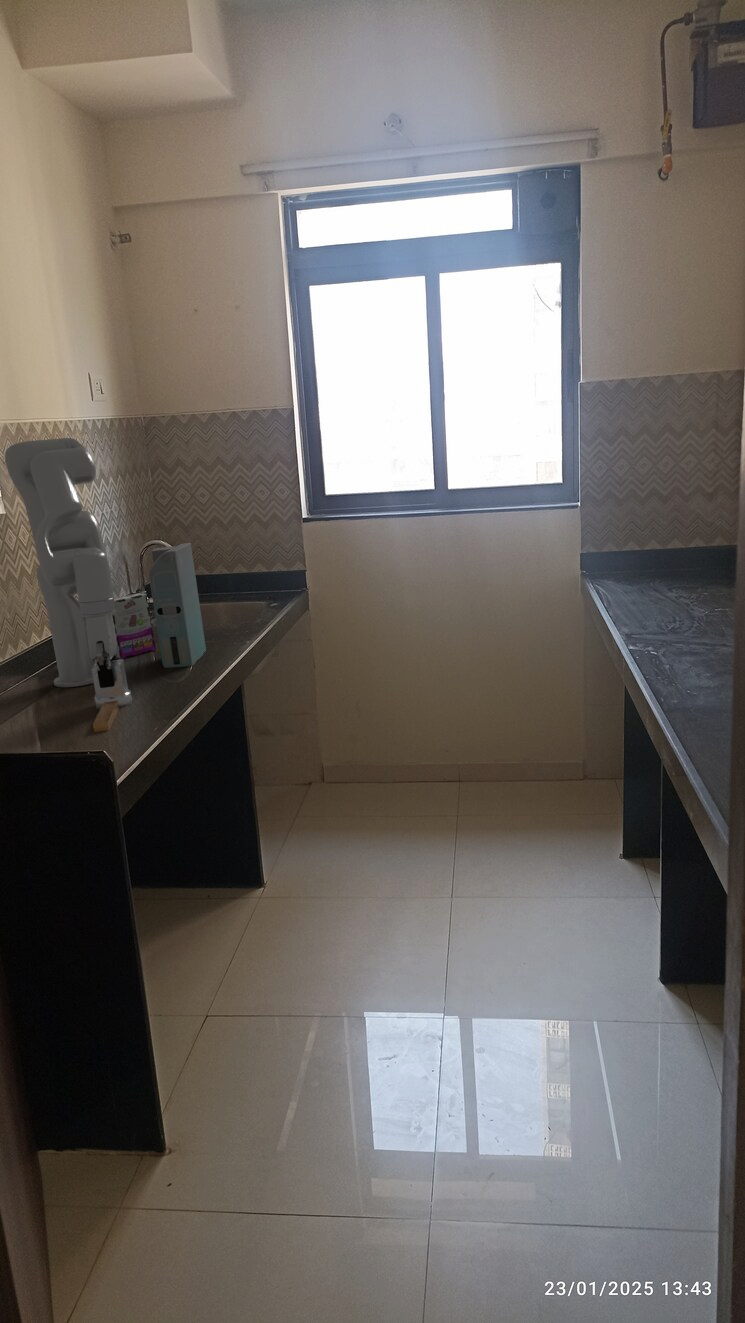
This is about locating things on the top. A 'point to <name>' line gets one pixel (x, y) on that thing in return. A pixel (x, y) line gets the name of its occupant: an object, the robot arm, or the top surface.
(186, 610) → the device
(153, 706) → the top surface
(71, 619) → the robot arm
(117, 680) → the white block
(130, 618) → the candy bar box
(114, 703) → the hammer
